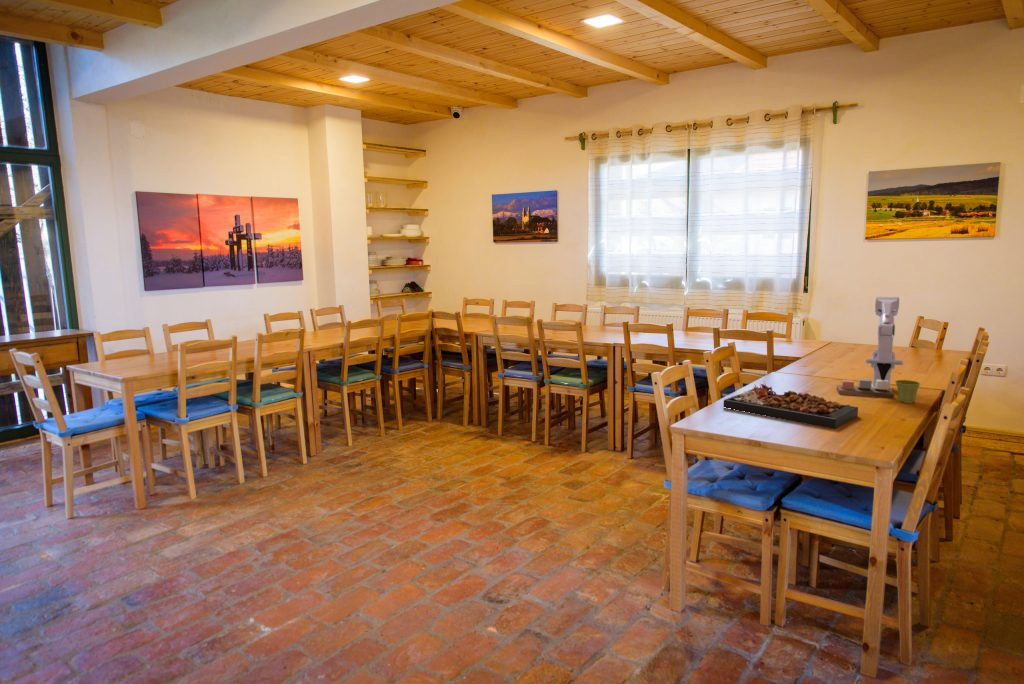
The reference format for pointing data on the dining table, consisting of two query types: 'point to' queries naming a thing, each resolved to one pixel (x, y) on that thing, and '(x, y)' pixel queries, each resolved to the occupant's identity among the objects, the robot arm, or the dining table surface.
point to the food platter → (793, 407)
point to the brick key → (848, 384)
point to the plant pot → (907, 390)
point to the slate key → (864, 383)
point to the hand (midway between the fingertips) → (882, 379)
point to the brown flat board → (866, 392)
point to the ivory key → (882, 384)
